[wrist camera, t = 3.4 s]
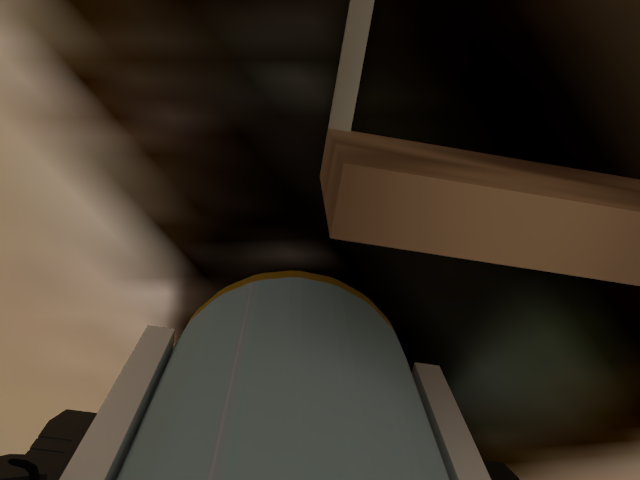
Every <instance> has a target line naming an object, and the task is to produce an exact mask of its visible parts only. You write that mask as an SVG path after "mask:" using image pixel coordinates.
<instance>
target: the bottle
mask: <svg viewBox="0 0 640 480" xmlns="http://www.w3.org/2000/svg"><path fill="white" fill-rule="evenodd" d="M116 480H450V479H449V477H448V474H447V471H446V468H445V465H444V463H443V460H442V457H441V454H440V451H439V449H438V446H437V443H436V440H435V437H434V435H433V432H432V429H431V426H430V423H429V421H428V418H427V415H426V412H425V409H424V407H423V404H422V401H421V398H420V395H419V393H418V390H417V387H416V384H415V381H414V379H413V376H412V373H411V370H410V367H409V365H408V362H407V359H406V357H405V354H404V352H403V350H402V347H401V345H400V343H399V340H398V338H397V336H396V334H395V331H394V329H393V327H392V325H391V323H390V322H389V320H388V319H387V318H386V316H385V315H384V314H383V313H382V312H381V311H380V310H379V309H378V308H377V307H376V306H375V305H374V303H373V302H372V301H371V300H370V299H369V298H367V297H366V296H365V295H364V294H362V293H361V292H359V291H357V290H355V289H353V288H352V287H350V286H348V285H346V284H344V283H343V282H341V281H339V280H337V279H334V278H331V277H328V276H323V275H318V274H314V273H309V272H304V271H292V270H290V271H280V272H269V273H261V274H257V275H253V276H250V277H248V278H246V279H243V280H241V281H238V282H236V283H234V284H231V285H229V286H227V287H225V288H223V289H222V290H220V291H218V292H217V293H216V294H215V295H214V296H213V297H211V298H210V299H209V300H208V301H207V302H206V303H204V304H203V305H202V306H201V307H200V308H199V309H198V310H197V311H196V312H195V313H194V315H193V316H192V317H191V319H190V321H189V322H188V324H187V326H186V328H185V329H184V331H183V333H182V334H181V336H180V338H179V340H178V342H177V343H176V345H175V347H174V349H173V351H172V353H171V356H170V358H169V360H168V362H167V365H166V367H165V369H164V372H163V374H162V376H161V378H160V381H159V383H158V385H157V387H156V390H155V392H154V394H153V397H152V399H151V401H150V403H149V406H148V408H147V410H146V412H145V415H144V417H143V419H142V422H141V424H140V426H139V428H138V431H137V433H136V435H135V437H134V440H133V442H132V444H131V447H130V449H129V451H128V453H127V456H126V458H125V460H124V462H123V465H122V467H121V469H120V472H119V474H118V476H117V478H116Z"/></svg>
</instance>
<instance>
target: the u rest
mask: <svg viewBox="0 0 640 480" xmlns="http://www.w3.org/2000/svg"><path fill="white" fill-rule="evenodd" d="M374 1H375V0H350V3H349V9H348V14H347V20H346V26H345V32H344V38H343V44H342V49H341V55H340V61H339V67H338V73H337V79H336V84H335V90H334V96H333V102H332V108H331V113H330V119H329V125H328V131H327V137H326V143H325V148H324V154H323V160H322V166H321V172H320V182H321V188H322V194H323V200H324V206H325V211H326V217H327V223H328V229H329V235H330V238H332V239H339V240H345V241H352V242H358V243H365V244H371V245H378V246H384V247H390V248H397V249H403V250H410V251H416V252H423V253H429V254H436V255H442V256H449V257H455V258H462V259H468V260H475V261H481V262H488V263H494V264H501V265H507V266H514V267H520V268H527V269H533V270H540V271H546V272H553V273H559V274H566V275H572V276H579V277H585V278H592V279H598V280H605V281H611V282H618V283H624V284H631V285H637V286H640V180H639V179H633V178H627V177H622V176H616V175H610V174H604V173H598V172H592V171H586V170H580V169H574V168H568V167H562V166H556V165H551V164H545V163H539V162H533V161H527V160H521V159H515V158H509V157H503V156H497V155H491V154H485V153H480V152H474V151H468V150H462V149H456V148H450V147H444V146H438V145H432V144H426V143H420V142H415V141H409V140H403V139H397V138H391V137H385V136H379V135H373V134H367V133H361V132H355V131H351V127H352V121H353V116H354V110H355V105H356V99H357V94H358V88H359V83H360V78H361V72H362V67H363V61H364V56H365V50H366V45H367V39H368V34H369V28H370V23H371V17H372V12H373V6H374Z"/></svg>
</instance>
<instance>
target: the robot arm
mask: <svg viewBox="0 0 640 480" xmlns="http://www.w3.org/2000/svg"><path fill="white" fill-rule="evenodd" d="M174 331H175V329H171V328H164V327H156V326H149V325H148V326H147V328H146V330H145V331H144V333H143V335H142V337H141V338H140V340H139V342H138V343H137V345H136V347H135V349H134V350H133V352H132V354H131V356H130V357H129V359H128V361H127V363H126V364H125V366H124V368H123V370H122V371H121V373H120V375H119V377H118V378H117V380H116V382H115V383H114V385H113V387H112V389H111V390H110V392H109V394H108V396H107V397H106V399H105V401H104V403H103V404H102V406H101V408H100V410H99V411H98V413H91V412H83V411H75V410H65V411H63V412H62V413H60V414H59V415H57V416H56V417H54V418H53V419H51V420H50V421H48V423H47V424H46V426H45V427H44V429H43V430H42V432H41V433H40V434H39V436H38V439H36V440H35V442H34V443H33V444H32V446H31V447H30V450H29V451H28V452H27V453H26V454H25V455H24V454H8V455H3V456H0V480H116V478H117V476H118V474H119V472H120V469H121V467H122V465H123V462H124V460H125V458H126V456H127V453H128V451H129V449H130V447H131V444H132V442H133V440H134V437H135V435H136V433H137V431H138V428H139V426H140V424H141V422H142V419H143V417H144V415H145V412H146V410H147V408H148V406H149V403H150V401H151V399H152V397H153V394H154V392H155V390H156V387H157V385H158V383H159V381H160V378H161V376H162V374H163V372H164V369H165V367H166V365H167V362H168V360H169V358H170V356H171V353H172V350H173V340H174ZM412 376H413V379H414V381H415V384H416V387H417V390H418V393H419V395H420V398H421V401H422V404H423V407H424V409H425V412H426V415H427V418H428V421H429V423H430V426H431V429H432V432H433V435H434V437H435V440H436V443H437V446H438V449H439V451H440V454H441V457H442V460H443V463H444V465H445V468H446V471H447V474H448V477H449V479H450V480H519V478H518V477H517V476H516V475H515V474H514V473H513V472H512V471H511V470H510V469H509V468H508V467H507V466H506V465H505V464H504V463H499V462H491V461H483V460H482V458H481V456H480V454H479V452H478V449H477V447H476V445H475V443H474V441H473V438H472V436H471V434H470V432H469V430H468V427H467V425H466V423H465V421H464V419H463V417H462V414H461V412H460V410H459V408H458V406H457V403H456V401H455V399H454V397H453V395H452V392H451V390H450V388H449V386H448V384H447V381H446V379H445V377H444V375H443V373H442V370H441V368H440V366H438V365H430V364H423V363H416V362H414V366H413V370H412Z"/></svg>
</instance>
